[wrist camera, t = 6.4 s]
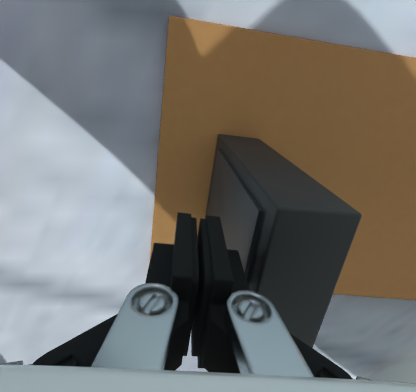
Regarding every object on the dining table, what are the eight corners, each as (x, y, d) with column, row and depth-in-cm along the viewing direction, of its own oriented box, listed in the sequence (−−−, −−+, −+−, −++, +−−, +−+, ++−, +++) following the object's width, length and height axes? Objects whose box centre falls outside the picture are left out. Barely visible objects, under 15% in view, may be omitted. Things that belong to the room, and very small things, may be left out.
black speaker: (202, 217, 21) (236, 356, 11) (215, 133, 18) (272, 207, 8) (242, 220, 21) (311, 354, 11) (259, 138, 19) (364, 214, 9)
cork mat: (149, 276, 23) (148, 280, 23) (169, 16, 16) (168, 15, 16) (423, 296, 26) (427, 301, 25) (537, 80, 19) (545, 80, 19)
